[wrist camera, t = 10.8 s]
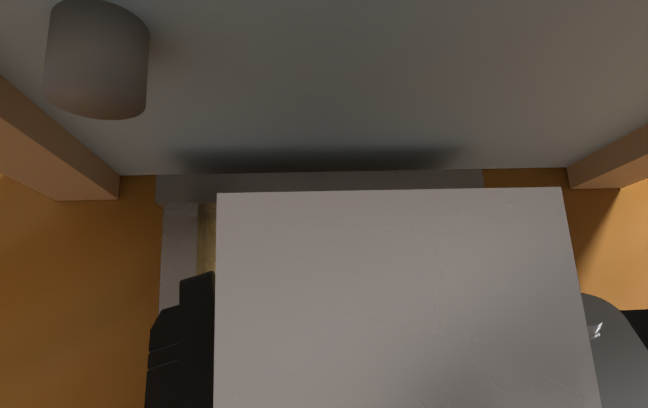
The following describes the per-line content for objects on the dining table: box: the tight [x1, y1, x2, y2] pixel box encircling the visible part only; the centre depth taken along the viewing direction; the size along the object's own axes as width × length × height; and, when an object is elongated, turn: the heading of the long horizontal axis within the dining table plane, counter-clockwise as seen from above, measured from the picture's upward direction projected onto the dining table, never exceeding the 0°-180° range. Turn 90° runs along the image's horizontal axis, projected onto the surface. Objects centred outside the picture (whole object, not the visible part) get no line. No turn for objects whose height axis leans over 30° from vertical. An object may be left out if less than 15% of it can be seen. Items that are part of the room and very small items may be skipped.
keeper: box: [155, 169, 485, 314], centre depth 16 cm, size 11×10×3 cm
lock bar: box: [213, 187, 602, 408], centre depth 10 cm, size 4×4×10 cm
